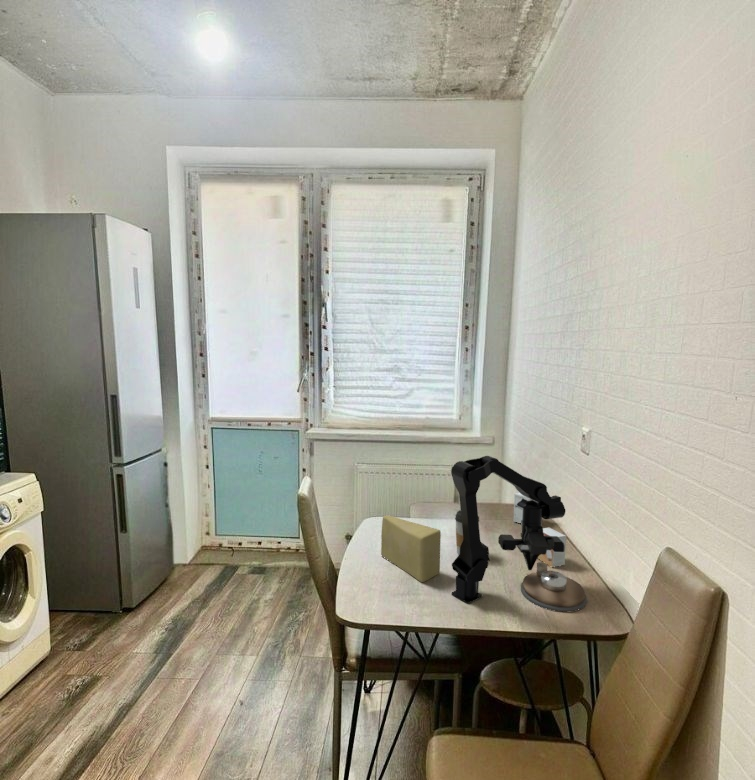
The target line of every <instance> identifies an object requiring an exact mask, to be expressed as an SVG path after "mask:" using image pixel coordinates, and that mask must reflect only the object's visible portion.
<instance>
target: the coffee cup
mask: <svg viewBox="0 0 755 780" xmlns="http://www.w3.org/2000/svg"><path fill="white" fill-rule="evenodd" d="M454 520H455V537H456V538H455V540H456V553H457V555H458V556H459V555H460V546H461V544H462V542H463V529H462V519H461V509H460V510H457V511H456V514H455V517H454ZM478 521H479V522H480V516H479V515H478Z"/></svg>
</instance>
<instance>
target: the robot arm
mask: <svg viewBox="0 0 755 780" xmlns="http://www.w3.org/2000/svg"><path fill="white" fill-rule="evenodd" d="M450 471H451V473H450V475H451V478H452V481H453V484H454V486H455V489H456V490H457V492H458V497H459V506H460V510H461V519H462V529H463V542H462V544H461V546H460V555H458V556H457V557H456V558H455V560H453V562H452V563H451V567H452V570H453V571H454V572H455V573H456V574H457V575H456V577H455V590H454V591H452V592H451V595H452V596H454V597H455V598H457V599H459V600H461V601H463V602H464V603H465V604H470V603H473V602H475V601H476V600H478V599H481V598H482V597H483V595H482V594H481V593H480V592H479V582H482V581H483V579H484V576H485V574H486V570H487V569H488V567H489V562H490V561H491V559H490V555H489V551H490V549H489V546H487V545H485V544H484V543H483V542H482V541H481V536H480V535H481V533H480V524H479V522H480V520H479V521H478V516H479V511H478V500H477V493H478V491H479V489H480V486H481V481H483V480H485V479H487V478H488V477H489V476H490V475H491V474H493V475H496V476H498V477H499V478H501V479H503V480H504V481H506V482H508V484H509V483H510V484H511V485H513V487H515V489H516V491H518V492H520V493H521V494H522V495H523V496H526V497H528V498H530V499H532V500H530V501H527V500H525V499H522V500H521V501H520V502H518V503H517V506H519V507H521V508H523V516H522V520H521V524H520V525H521V532H520V538H514V537H513V535H512V534H503V533H502V534H500V535H499V536H498V544H499V546H500V548H501V549H502V550H503V551H515V549H516V548H517V549H518V550H519V552H520V553H522V555H523V558H524V561H525V563H526V566H527V570H528V571H533V568H534V566H535V564H536V562H537V560H538V559H537V558H538V556H539V555H541V554H542V555H545V554H546V552H547V550H552V549H553V550H554V552H564V551H565V552H566V549H565V545H564V543H563V542H562V541H561V540H560V539H559V538H558V537H557V536H544V534H543V528H544V527H543V520H552V519H553V520H554V519H560V518H563V517H565V515H566V508H565V505H564V503H563V502H562V497H561V496H559V495H551V496H550V494H549V492H548V490H547V489H548V487H547V485H546V484H545V483H543V482H540V481H538V480H535V479H532V478H530V477H527V476H524V475H522V474H521V473H519V472H517V471H516V470H514V469H513V468H511V467H509V466H507V465H506V464H505V463H503V462H501V461H499V459H498V458H495V457H493V456H490V455H485V456H482V457H478V458H472V459H468V460H465V461H463V460H460V461H456V462H455V463H454V464H453V466H452V467H451V470H450ZM533 500H534V501H533ZM536 501H537V502H536Z"/></svg>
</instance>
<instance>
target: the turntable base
mask: <svg viewBox="0 0 755 780" xmlns="http://www.w3.org/2000/svg"><path fill="white" fill-rule="evenodd" d="M520 591H521V592H520V593H521V595H523V597H524V598H525V599H526V600H527V601H528V602H530V603H532V604H533V603H534V605H535V606H537V605H538V606H537V607H539V606H540V608H542V607H543V608H542V609H545V608H547V609H546V610H548V609H551V610H550V611H552V610H555V611H554V612H558V611H563V612H562V613H568V612H567V611H574V612H576V611H575V610H578V609H581V608H582V609H584V608H585V607H584V606H587V595H586V594H585V599H584V601H583V603H581V604H580V605H578V606H574V607H556V606H551V605H547V604H544V603H541V602H539V601H537V600H535V599H533V598H532V597H530V596H529V595H528V594H527V593H526V592H525V591H524V589H523V581H522V582H521V583H520ZM583 607H584V608H583ZM582 609H581V610H582ZM578 611H579V610H578Z"/></svg>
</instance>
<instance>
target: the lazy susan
mask: <svg viewBox="0 0 755 780" xmlns="http://www.w3.org/2000/svg"><path fill="white" fill-rule="evenodd" d="M543 571H548V565H547V564H546V563H544V562H542V561H539V562H537V563H536V571H535V572H532V573H529V574H526V575H525V576H524V577H523V580H522V582H523V589H524V591H525V592H526V593H527V594H528V595H529V596H530V597H532V598H533V599H535V600H537V601H539V602H541V603H544V604H547V605H551V606H556V607H574V606H578V605H580V604H581V603H583V601H584V599H585V595H586V590H585V589H584V587H583V586H582V585H581V584H580V583H579V582H577V581H576V580H574V579H573V578H571V577H568V576H566V578H567V580H566V590H565V591H564V592H551V591H548V590H546V589H544V588H543V587H542V586H541V573H542V572H543Z"/></svg>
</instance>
